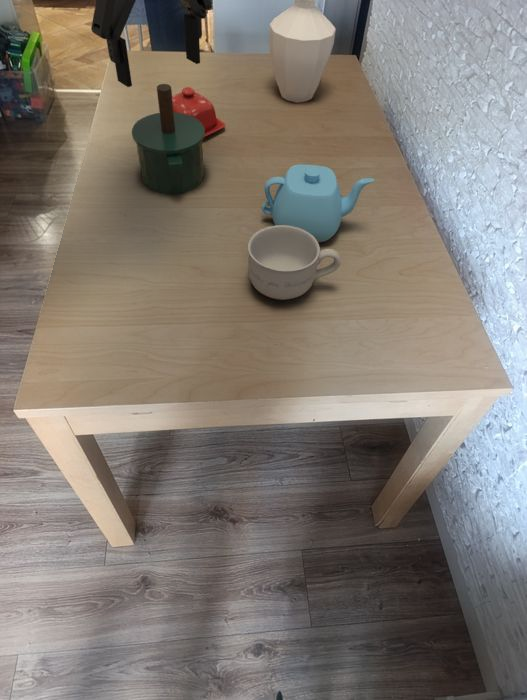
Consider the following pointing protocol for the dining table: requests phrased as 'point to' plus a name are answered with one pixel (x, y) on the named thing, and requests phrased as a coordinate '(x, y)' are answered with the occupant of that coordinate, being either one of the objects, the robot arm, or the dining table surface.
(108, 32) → the robot arm
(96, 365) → the dining table surface
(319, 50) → the vase
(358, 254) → the dining table surface
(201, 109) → the butter dish
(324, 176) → the teapot
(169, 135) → the pot lid
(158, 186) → the pot
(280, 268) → the teacup
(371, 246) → the dining table surface
